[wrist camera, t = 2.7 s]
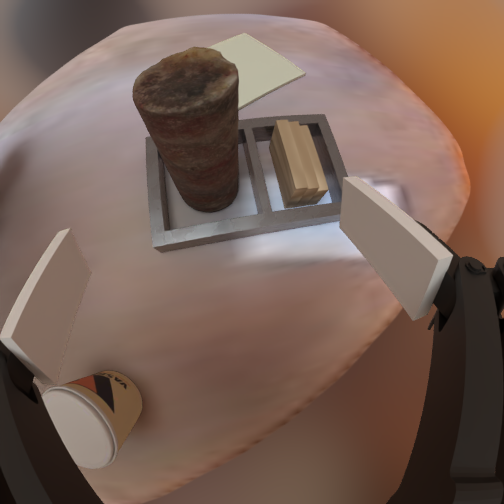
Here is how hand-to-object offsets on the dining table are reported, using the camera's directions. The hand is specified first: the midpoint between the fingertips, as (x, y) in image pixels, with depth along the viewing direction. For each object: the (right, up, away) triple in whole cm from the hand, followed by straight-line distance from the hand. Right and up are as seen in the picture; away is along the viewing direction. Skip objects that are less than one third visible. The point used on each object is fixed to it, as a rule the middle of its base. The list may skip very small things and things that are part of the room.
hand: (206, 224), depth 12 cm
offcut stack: (+7, +9, +23) cm, 26 cm away
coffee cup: (-16, -20, +16) cm, 30 cm away
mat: (0, +30, +26) cm, 39 cm away
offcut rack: (+2, +8, +22) cm, 24 cm away
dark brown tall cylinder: (-4, +7, +22) cm, 23 cm away
